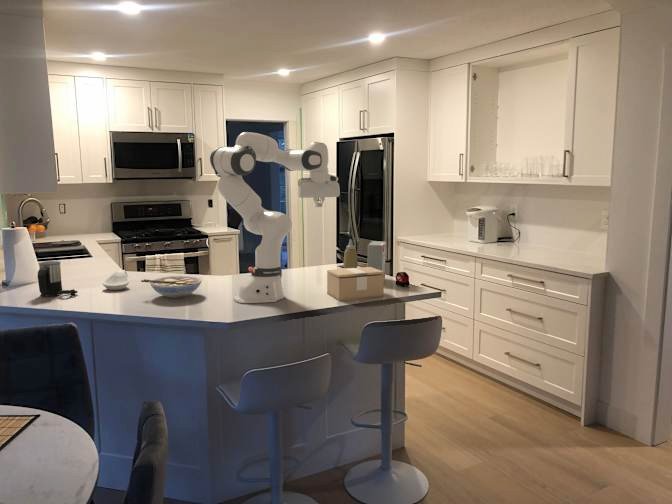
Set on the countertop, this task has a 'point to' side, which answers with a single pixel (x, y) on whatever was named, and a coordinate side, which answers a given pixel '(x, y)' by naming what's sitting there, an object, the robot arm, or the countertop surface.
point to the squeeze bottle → (350, 256)
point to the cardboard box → (355, 286)
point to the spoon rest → (117, 280)
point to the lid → (355, 272)
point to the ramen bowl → (175, 285)
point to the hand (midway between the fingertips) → (319, 207)
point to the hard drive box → (377, 255)
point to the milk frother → (51, 279)
